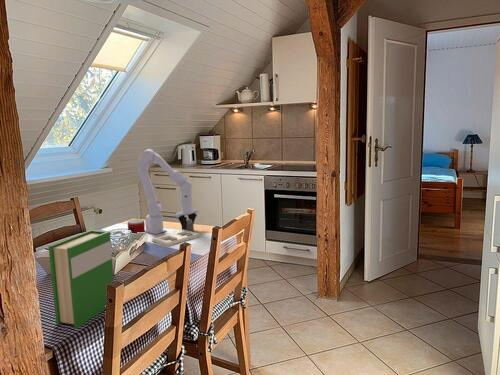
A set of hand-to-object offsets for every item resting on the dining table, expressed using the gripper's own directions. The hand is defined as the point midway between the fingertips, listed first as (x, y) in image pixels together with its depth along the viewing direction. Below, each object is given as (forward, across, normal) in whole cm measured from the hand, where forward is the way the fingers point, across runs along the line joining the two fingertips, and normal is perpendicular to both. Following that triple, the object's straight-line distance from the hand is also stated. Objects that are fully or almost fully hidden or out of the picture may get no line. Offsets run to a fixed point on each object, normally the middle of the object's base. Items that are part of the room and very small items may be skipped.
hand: (187, 228), depth 218 cm
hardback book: (+2, -82, -48) cm, 95 cm away
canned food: (+2, -30, +2) cm, 30 cm away
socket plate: (+1, -14, -8) cm, 16 cm away
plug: (+1, 0, 0) cm, 1 cm away
